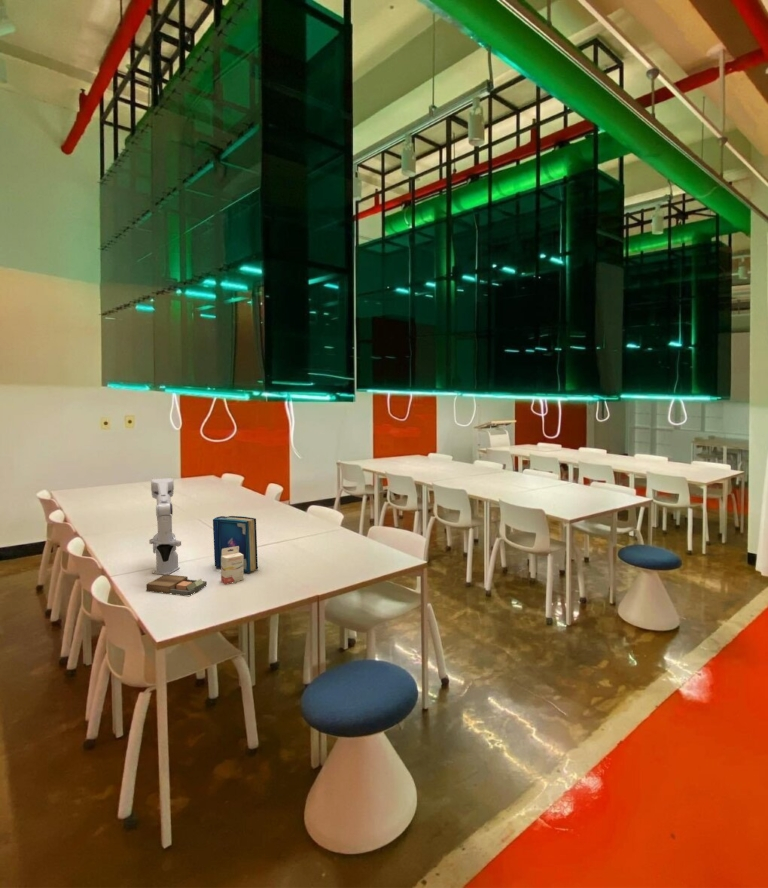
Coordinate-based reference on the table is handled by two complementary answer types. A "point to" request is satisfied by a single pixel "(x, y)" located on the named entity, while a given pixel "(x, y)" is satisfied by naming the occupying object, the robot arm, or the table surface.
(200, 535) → the table surface
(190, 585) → the tile
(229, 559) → the ink cartridge box
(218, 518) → the book
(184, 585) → the tile
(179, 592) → the tray
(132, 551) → the table surface
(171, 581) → the plate
